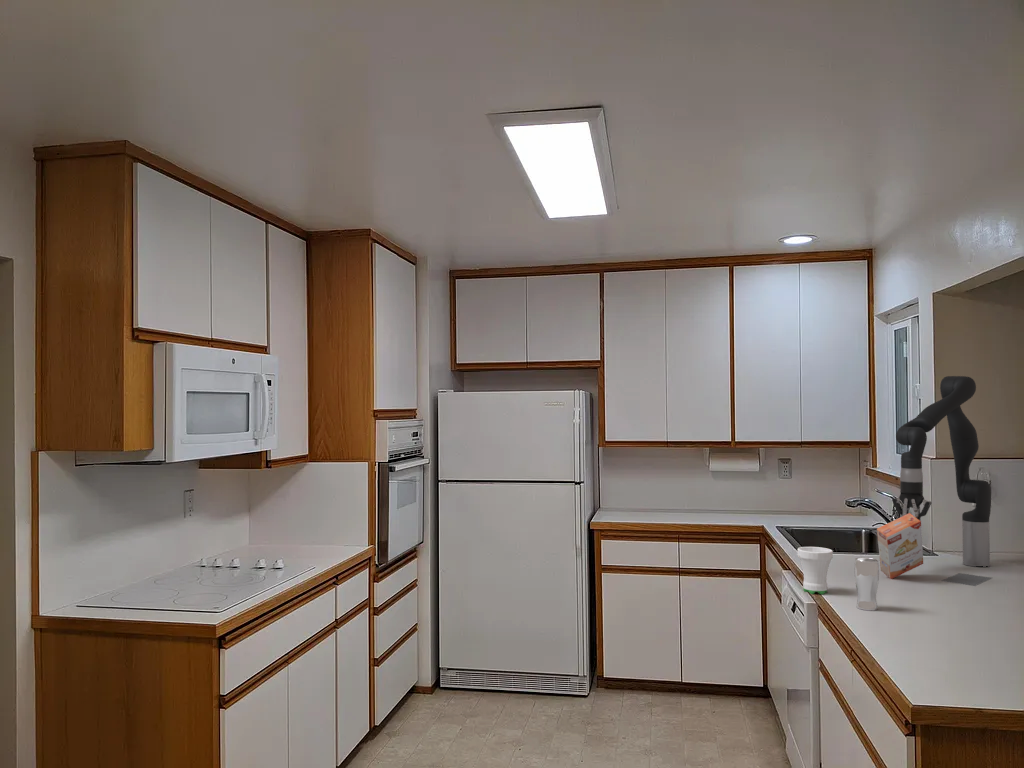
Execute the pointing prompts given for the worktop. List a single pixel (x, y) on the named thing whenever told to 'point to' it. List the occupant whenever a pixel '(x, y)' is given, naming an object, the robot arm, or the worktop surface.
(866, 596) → the beer glass
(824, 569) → the cup
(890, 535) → the cracker box
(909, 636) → the worktop surface
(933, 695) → the worktop surface
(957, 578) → the mat
